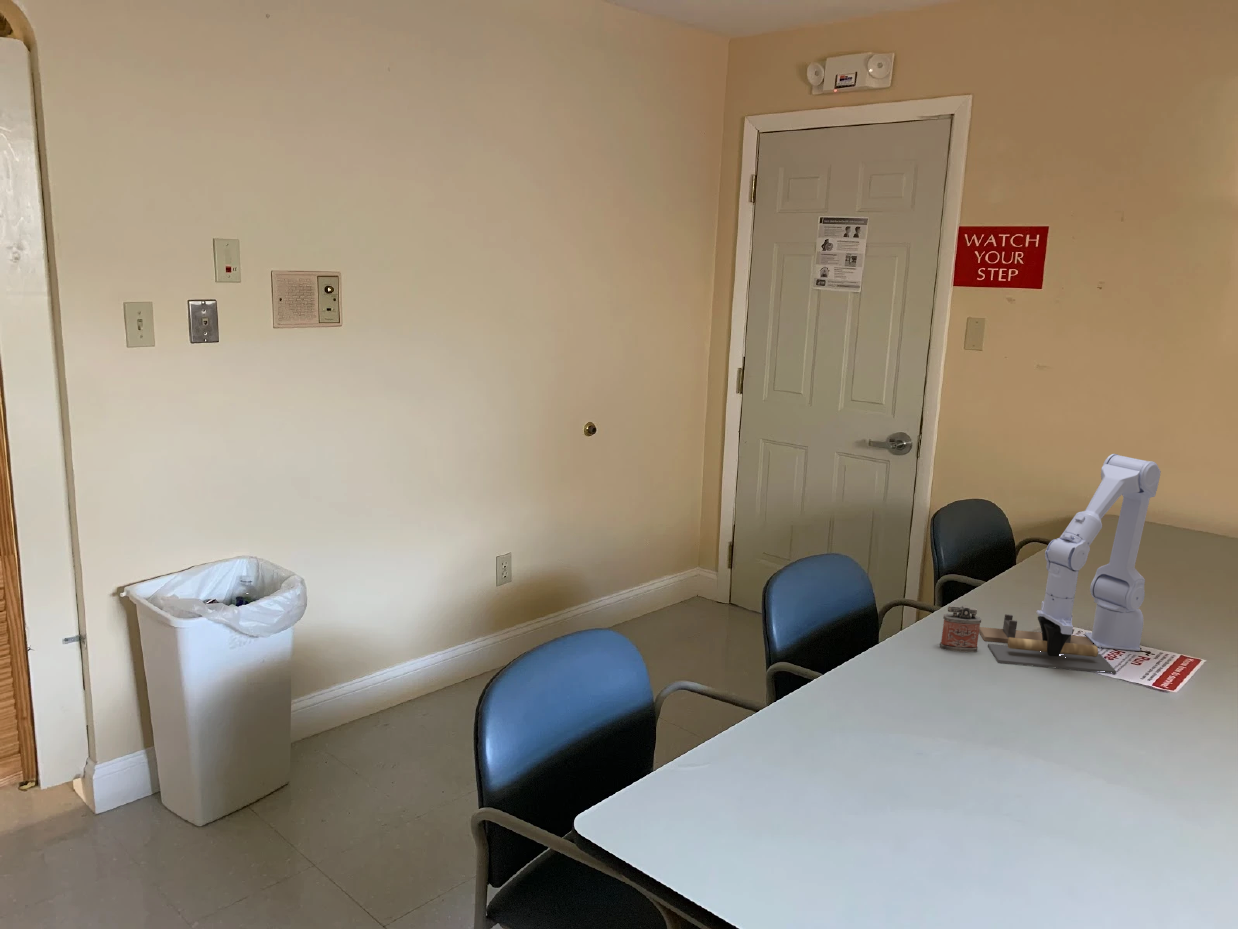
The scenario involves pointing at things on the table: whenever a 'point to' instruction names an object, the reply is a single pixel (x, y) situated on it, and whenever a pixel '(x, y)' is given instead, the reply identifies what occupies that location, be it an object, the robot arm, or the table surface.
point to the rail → (1042, 646)
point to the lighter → (960, 629)
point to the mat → (1049, 659)
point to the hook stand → (1020, 633)
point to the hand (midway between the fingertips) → (1050, 652)
